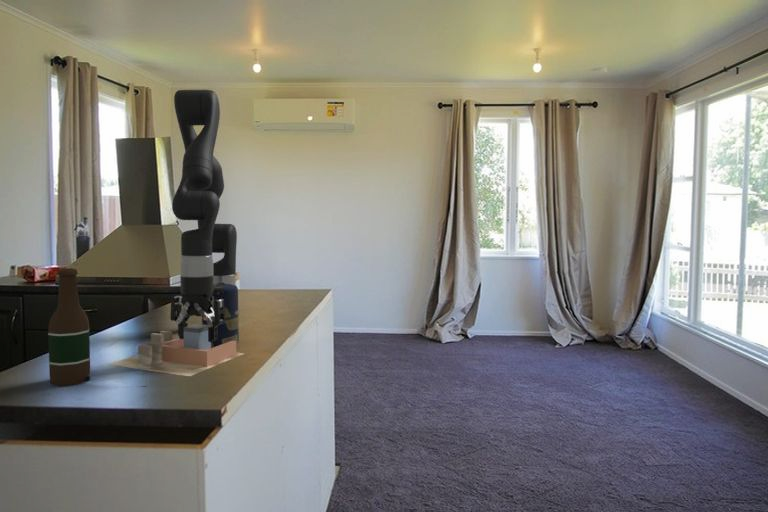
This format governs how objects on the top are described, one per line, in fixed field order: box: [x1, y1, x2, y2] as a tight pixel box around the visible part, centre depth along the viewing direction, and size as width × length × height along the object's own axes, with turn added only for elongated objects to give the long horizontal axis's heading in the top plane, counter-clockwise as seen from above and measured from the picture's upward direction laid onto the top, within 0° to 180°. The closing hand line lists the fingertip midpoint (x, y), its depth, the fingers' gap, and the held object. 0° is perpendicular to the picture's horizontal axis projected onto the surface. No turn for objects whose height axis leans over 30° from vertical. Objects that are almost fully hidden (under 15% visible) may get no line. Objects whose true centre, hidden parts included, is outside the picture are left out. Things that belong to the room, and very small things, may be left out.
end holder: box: [162, 337, 240, 367], centre depth 124 cm, size 12×15×4 cm
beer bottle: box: [47, 268, 91, 387], centre depth 108 cm, size 8×8×24 cm
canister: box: [201, 282, 240, 348], centre depth 138 cm, size 10×10×18 cm
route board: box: [107, 330, 245, 377], centre depth 123 cm, size 20×23×6 cm
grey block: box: [184, 323, 212, 350], centre depth 124 cm, size 4×4×7 cm
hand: (197, 340), depth 124 cm, fingers open, 8 cm apart
